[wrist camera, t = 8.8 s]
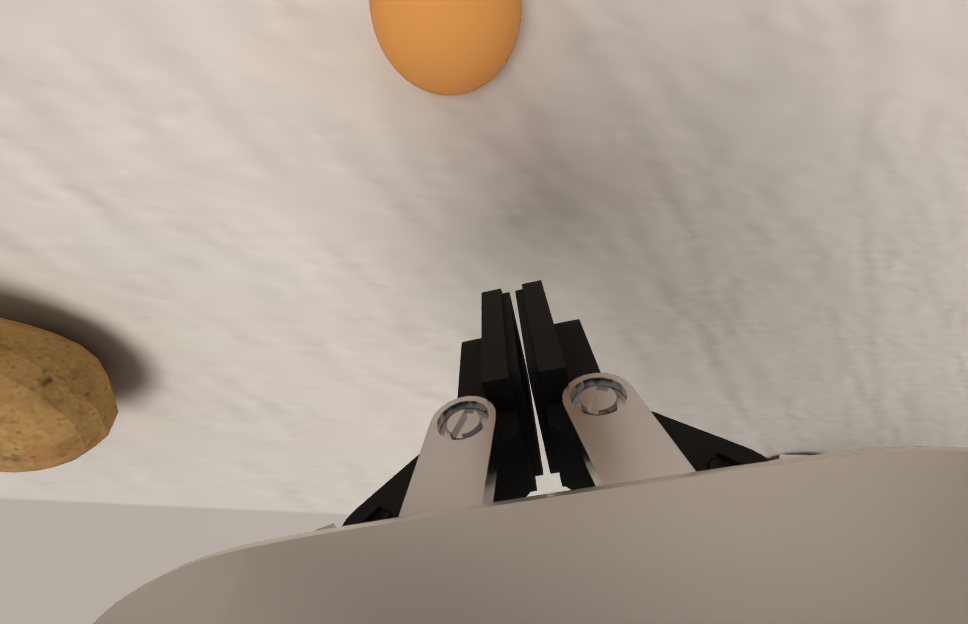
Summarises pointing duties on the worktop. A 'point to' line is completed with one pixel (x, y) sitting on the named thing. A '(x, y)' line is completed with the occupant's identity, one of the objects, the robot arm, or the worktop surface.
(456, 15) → the brown egg
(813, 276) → the worktop surface
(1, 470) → the potato
